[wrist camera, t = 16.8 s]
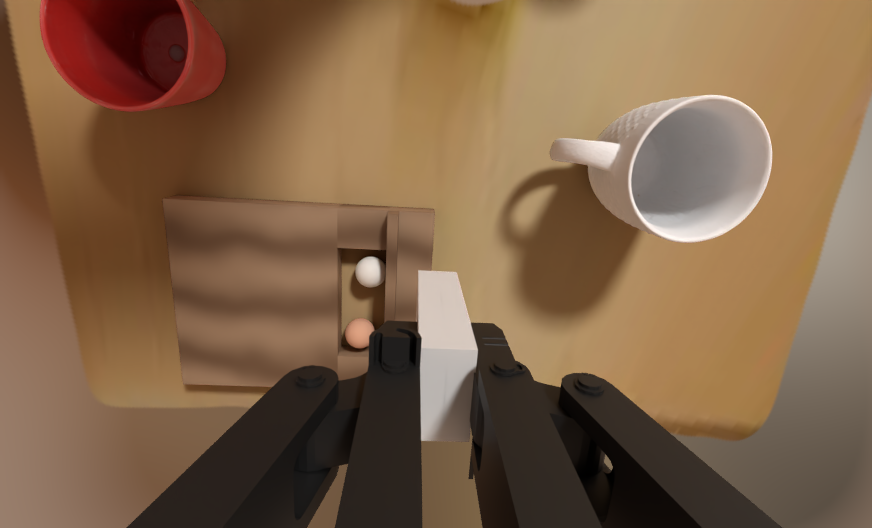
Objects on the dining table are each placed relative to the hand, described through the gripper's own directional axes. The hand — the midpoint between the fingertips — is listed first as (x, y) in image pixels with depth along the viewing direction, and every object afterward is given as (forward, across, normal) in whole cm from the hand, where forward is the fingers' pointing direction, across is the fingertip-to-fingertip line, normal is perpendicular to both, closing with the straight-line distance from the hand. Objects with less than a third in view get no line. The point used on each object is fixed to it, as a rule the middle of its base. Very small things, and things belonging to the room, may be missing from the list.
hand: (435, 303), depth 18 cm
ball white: (+28, -5, -8) cm, 29 cm away
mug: (+30, +19, +5) cm, 36 cm away
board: (+29, -12, -11) cm, 34 cm away
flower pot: (+30, -23, +12) cm, 39 cm away
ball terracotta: (+28, -6, -15) cm, 32 cm away
